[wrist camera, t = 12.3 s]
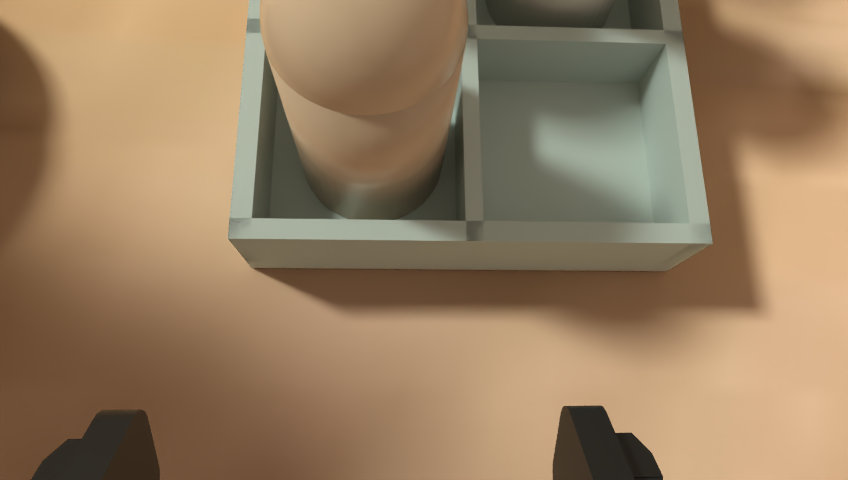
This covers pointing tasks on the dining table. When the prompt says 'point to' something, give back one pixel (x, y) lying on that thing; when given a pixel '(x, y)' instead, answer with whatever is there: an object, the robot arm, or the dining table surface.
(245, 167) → the carton
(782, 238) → the dining table surface
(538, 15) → the white eggs
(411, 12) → the cream dome-topped cylinder
